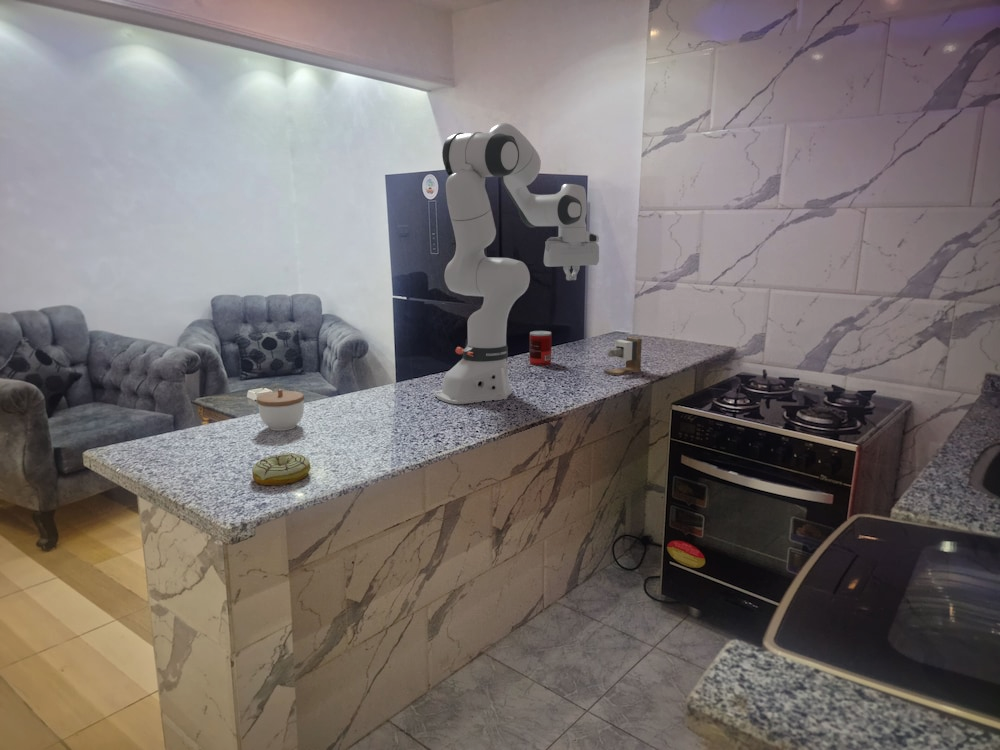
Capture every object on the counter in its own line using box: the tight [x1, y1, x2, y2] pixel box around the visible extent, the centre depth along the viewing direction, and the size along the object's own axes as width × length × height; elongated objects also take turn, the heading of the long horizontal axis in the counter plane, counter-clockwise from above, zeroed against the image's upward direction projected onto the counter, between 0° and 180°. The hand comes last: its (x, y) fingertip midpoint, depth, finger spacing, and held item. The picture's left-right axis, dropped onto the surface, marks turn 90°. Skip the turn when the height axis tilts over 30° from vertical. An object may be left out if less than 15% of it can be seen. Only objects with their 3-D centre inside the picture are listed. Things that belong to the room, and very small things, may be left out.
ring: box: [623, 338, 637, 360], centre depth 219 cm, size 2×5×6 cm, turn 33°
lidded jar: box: [256, 388, 305, 432], centre depth 160 cm, size 11×11×9 cm
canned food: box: [529, 330, 553, 366], centre depth 233 cm, size 8×8×11 cm
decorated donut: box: [251, 452, 311, 487], centre depth 129 cm, size 10×11×4 cm
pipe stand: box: [603, 336, 643, 376], centre depth 218 cm, size 12×5×11 cm, turn 123°
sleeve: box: [613, 339, 632, 362], centre depth 218 cm, size 3×5×6 cm, turn 33°
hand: (571, 280), depth 215 cm, fingers closed
